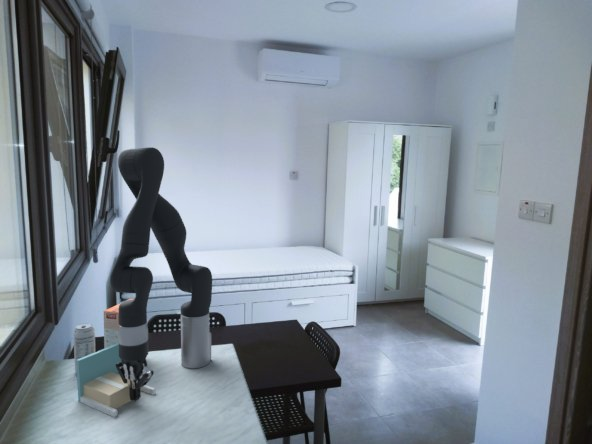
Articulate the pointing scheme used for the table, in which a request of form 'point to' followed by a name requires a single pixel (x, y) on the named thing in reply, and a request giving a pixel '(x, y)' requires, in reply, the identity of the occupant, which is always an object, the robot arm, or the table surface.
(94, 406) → the display stand
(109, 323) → the cracker box
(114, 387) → the kraft carton
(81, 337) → the energy drink can
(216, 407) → the table surface
